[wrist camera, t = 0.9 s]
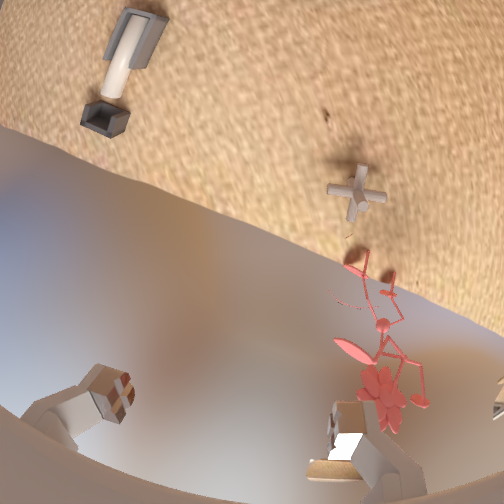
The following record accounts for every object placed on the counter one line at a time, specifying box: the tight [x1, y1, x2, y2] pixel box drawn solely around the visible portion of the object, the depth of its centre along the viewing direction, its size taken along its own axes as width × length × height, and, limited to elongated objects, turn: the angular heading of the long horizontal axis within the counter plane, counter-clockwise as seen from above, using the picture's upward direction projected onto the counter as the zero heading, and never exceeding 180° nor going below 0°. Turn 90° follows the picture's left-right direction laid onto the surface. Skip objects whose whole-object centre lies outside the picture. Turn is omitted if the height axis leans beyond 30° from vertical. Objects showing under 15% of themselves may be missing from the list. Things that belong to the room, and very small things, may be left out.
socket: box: [80, 100, 131, 139], centre depth 45 cm, size 4×8×5 cm, turn 62°
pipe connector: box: [327, 163, 387, 222], centre depth 45 cm, size 10×10×10 cm
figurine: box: [333, 234, 430, 433], centre depth 48 cm, size 15×26×35 cm, turn 56°
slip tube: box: [100, 14, 150, 98], centre depth 37 cm, size 15×4×4 cm, turn 152°
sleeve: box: [103, 7, 169, 70], centre depth 36 cm, size 10×7×5 cm, turn 152°
